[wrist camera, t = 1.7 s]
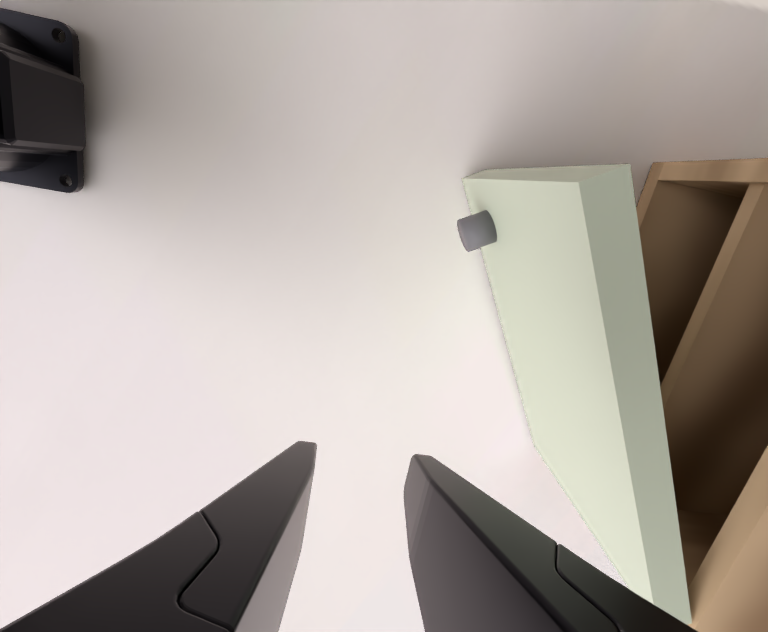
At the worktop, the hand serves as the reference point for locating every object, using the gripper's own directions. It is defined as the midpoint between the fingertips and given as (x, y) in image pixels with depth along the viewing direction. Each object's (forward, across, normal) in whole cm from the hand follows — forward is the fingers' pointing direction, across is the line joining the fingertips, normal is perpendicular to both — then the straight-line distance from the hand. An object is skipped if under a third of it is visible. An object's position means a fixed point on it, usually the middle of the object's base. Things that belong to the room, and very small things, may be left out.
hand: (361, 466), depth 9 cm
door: (+13, +8, -1) cm, 15 cm away
